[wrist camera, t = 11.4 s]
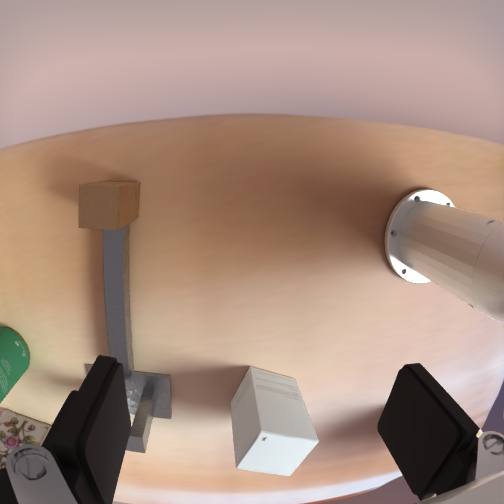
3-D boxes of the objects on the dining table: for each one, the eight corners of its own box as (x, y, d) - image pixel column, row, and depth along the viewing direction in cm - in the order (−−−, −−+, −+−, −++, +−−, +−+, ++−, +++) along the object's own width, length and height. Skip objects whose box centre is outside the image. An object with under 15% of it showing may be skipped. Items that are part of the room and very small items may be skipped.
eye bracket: (169, 375, 41) (159, 426, 31) (171, 416, 43) (164, 466, 33) (88, 363, 40) (62, 408, 30) (96, 405, 41) (76, 450, 32)
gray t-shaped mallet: (140, 182, 34) (118, 186, 27) (140, 366, 40) (128, 403, 32) (107, 181, 34) (79, 184, 26) (113, 362, 40) (96, 397, 32)
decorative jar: (54, 424, 42) (18, 498, 25) (67, 463, 45) (42, 530, 27) (2, 406, 41) (-40, 468, 23) (18, 445, 43) (-13, 504, 26)
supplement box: (228, 402, 43) (232, 469, 31) (249, 364, 41) (260, 430, 29) (274, 414, 44) (289, 478, 32) (298, 378, 43) (321, 441, 31)
